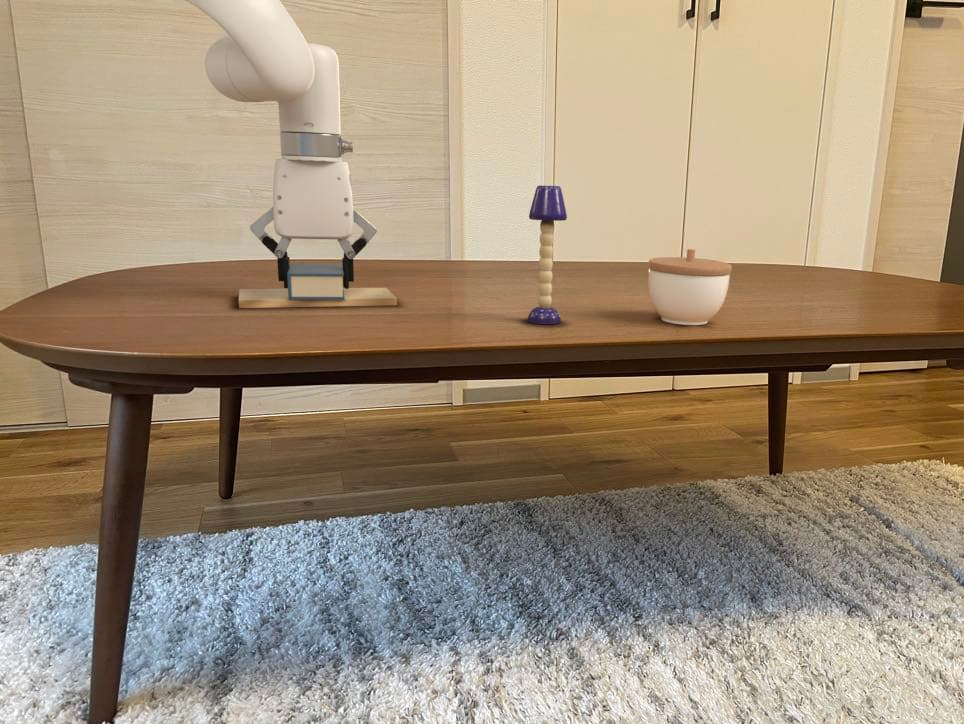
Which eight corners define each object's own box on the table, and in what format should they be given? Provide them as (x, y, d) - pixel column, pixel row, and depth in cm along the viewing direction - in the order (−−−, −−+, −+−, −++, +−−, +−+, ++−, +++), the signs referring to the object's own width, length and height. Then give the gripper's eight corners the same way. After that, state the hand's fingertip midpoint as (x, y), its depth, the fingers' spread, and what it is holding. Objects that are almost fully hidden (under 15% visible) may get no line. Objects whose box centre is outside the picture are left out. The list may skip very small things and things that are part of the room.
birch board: (239, 308, 98) (238, 300, 98) (239, 296, 106) (239, 288, 106) (397, 305, 105) (397, 298, 105) (386, 294, 113) (386, 287, 113)
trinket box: (661, 310, 110) (667, 243, 108) (735, 320, 105) (743, 250, 103) (630, 321, 102) (636, 248, 99) (709, 332, 96) (718, 256, 94)
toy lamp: (517, 319, 99) (522, 184, 94) (543, 316, 102) (549, 184, 97) (544, 326, 96) (550, 186, 91) (569, 322, 99) (577, 186, 94)
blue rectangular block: (292, 287, 109) (290, 263, 108) (343, 287, 111) (342, 263, 110) (288, 299, 100) (287, 273, 99) (344, 299, 102) (343, 273, 101)
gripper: (378, 152, 105) (380, 283, 111) (242, 146, 101) (251, 282, 106) (381, 152, 99) (384, 291, 104) (236, 145, 94) (246, 291, 99)
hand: (316, 286), depth 105 cm, fingers closed on blue rectangular block, 7 cm apart
